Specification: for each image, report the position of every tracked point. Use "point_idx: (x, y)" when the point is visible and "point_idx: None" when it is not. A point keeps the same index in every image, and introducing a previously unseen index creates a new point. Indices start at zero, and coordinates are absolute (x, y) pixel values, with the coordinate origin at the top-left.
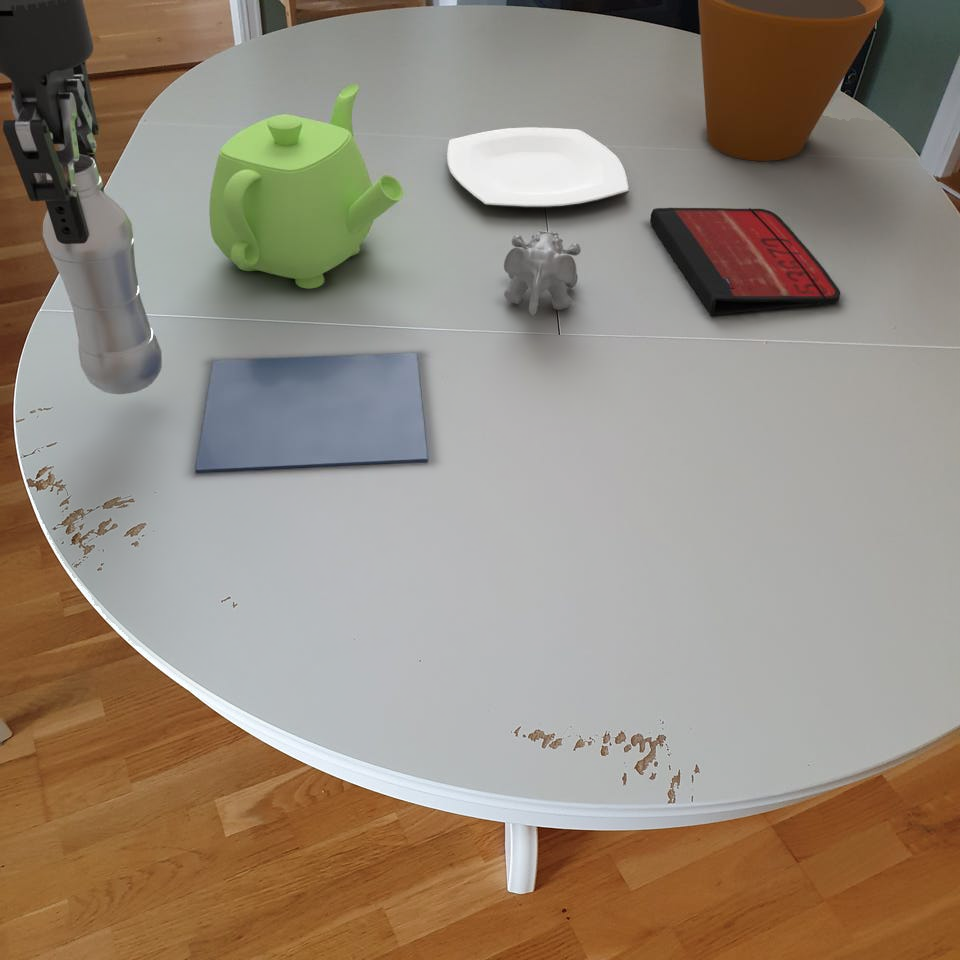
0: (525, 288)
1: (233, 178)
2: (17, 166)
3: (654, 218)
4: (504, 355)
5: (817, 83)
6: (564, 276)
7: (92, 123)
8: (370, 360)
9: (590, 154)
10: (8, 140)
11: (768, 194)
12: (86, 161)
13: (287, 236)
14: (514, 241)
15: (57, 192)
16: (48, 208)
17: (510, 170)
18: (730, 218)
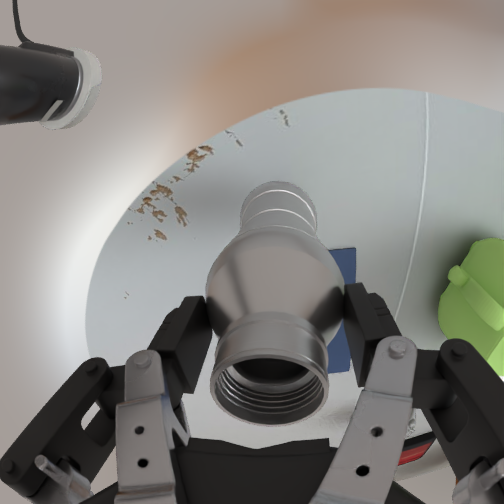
0: None
1: (499, 313)
2: (40, 411)
3: (432, 435)
4: (341, 402)
5: (456, 479)
6: None
7: (427, 416)
8: (344, 350)
9: None
10: (9, 451)
11: (436, 451)
12: (315, 399)
13: (453, 323)
14: (409, 424)
15: (100, 409)
16: (165, 335)
17: (502, 377)
18: (418, 453)
